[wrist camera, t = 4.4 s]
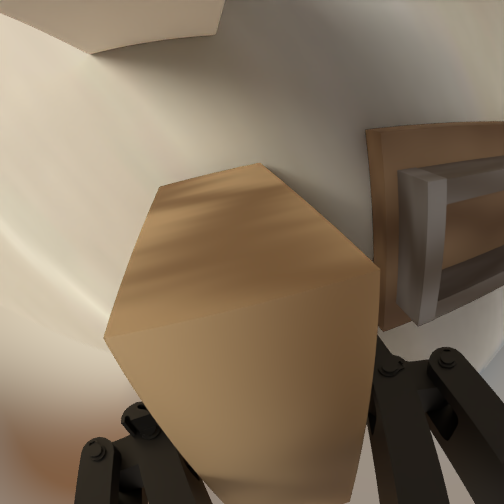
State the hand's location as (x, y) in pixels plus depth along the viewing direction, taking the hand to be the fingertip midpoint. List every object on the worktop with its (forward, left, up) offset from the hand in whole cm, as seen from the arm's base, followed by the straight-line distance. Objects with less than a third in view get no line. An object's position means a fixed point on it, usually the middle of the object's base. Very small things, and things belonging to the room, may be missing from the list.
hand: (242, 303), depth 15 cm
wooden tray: (-1, +19, -2) cm, 19 cm away
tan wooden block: (0, 0, -1) cm, 1 cm away
